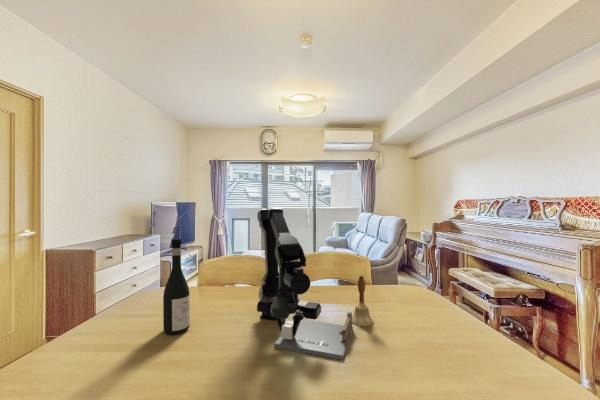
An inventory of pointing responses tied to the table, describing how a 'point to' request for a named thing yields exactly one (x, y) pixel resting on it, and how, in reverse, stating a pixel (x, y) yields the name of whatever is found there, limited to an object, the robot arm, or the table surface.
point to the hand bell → (361, 308)
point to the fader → (287, 330)
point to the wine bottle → (176, 296)
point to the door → (346, 329)
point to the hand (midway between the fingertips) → (288, 335)
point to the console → (317, 339)
